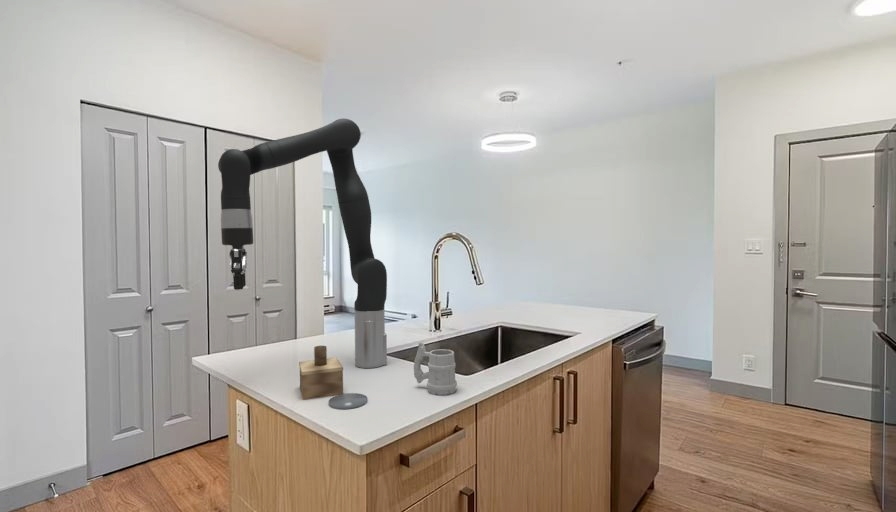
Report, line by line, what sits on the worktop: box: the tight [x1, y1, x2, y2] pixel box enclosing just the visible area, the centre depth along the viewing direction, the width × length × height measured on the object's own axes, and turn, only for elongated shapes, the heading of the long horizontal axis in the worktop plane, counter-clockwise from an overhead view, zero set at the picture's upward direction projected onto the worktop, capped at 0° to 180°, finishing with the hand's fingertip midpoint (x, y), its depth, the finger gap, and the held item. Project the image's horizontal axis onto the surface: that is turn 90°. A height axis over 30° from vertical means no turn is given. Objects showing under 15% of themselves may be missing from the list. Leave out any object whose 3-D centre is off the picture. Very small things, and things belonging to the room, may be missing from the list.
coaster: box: [328, 392, 368, 410], centre depth 102 cm, size 9×9×1 cm
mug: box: [413, 341, 458, 396], centre depth 110 cm, size 8×12×12 cm, turn 68°
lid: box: [298, 345, 344, 375], centre depth 110 cm, size 10×10×6 cm
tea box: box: [299, 369, 344, 401], centre depth 110 cm, size 10×10×6 cm
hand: (240, 287), depth 114 cm, fingers open, 8 cm apart
